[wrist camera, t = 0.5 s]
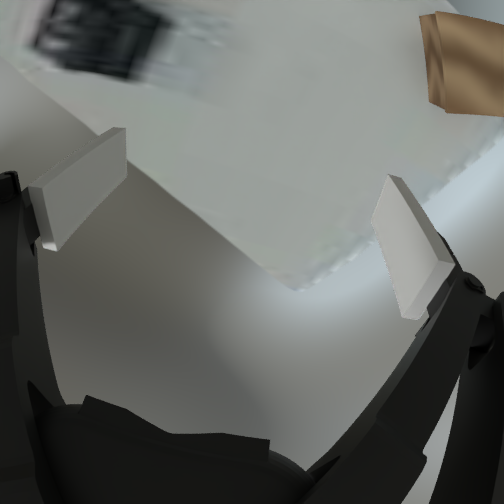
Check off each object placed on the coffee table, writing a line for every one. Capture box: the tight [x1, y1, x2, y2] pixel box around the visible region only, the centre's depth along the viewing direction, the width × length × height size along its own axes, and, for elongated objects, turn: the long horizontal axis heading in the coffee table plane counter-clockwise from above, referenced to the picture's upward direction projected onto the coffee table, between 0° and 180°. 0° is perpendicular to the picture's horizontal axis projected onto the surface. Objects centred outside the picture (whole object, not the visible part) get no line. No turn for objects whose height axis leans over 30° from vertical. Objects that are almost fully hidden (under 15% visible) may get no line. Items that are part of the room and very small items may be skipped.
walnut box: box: [419, 11, 504, 117], centre depth 25 cm, size 12×12×6 cm
